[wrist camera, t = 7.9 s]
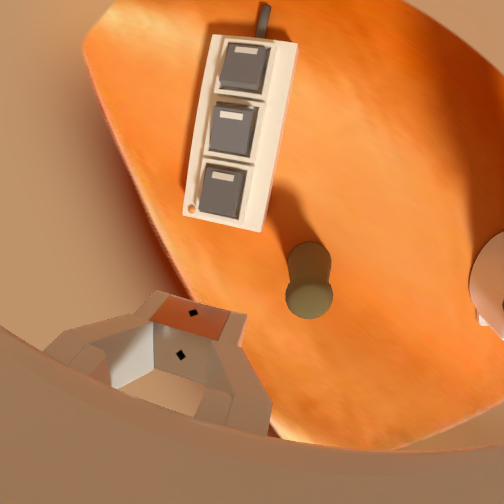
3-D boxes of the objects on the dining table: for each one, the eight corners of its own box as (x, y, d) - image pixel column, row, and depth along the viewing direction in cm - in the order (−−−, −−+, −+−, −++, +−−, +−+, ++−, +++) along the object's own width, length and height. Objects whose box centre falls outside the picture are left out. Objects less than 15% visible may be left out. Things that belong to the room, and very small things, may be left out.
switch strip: (306, 14, 29) (305, -3, 24) (264, 223, 40) (258, 236, 35) (230, 6, 30) (219, -11, 25) (193, 207, 41) (177, 218, 36)
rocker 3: (244, 175, 34) (242, 173, 32) (235, 217, 35) (232, 216, 33) (210, 169, 34) (206, 167, 33) (201, 209, 35) (197, 209, 33)
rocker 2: (254, 109, 30) (251, 111, 29) (248, 150, 33) (245, 154, 32) (218, 104, 30) (213, 106, 29) (214, 144, 33) (209, 148, 32)
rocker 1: (267, 54, 28) (266, 47, 27) (258, 90, 29) (256, 83, 27) (232, 50, 29) (229, 43, 27) (222, 85, 30) (218, 79, 28)
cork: (309, 290, 43) (307, 337, 33) (278, 262, 42) (268, 303, 32) (340, 262, 41) (349, 304, 30) (309, 232, 40) (309, 266, 30)
